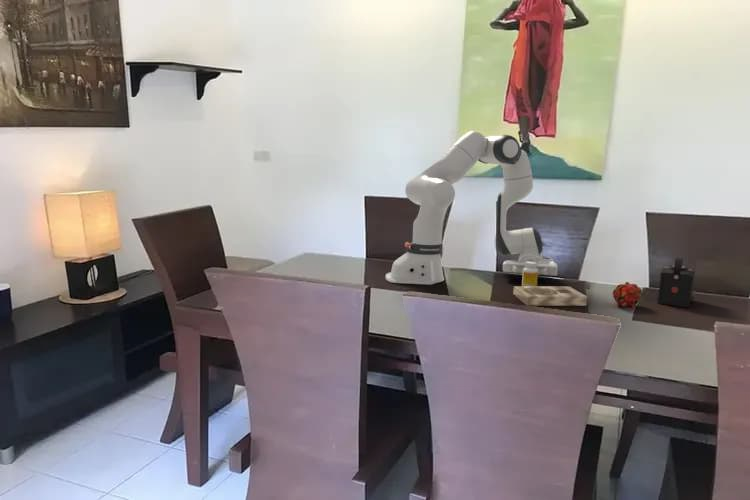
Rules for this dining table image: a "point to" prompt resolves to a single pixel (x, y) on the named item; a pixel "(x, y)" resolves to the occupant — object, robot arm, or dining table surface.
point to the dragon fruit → (627, 295)
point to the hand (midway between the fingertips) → (529, 271)
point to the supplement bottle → (530, 274)
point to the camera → (676, 285)
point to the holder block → (550, 295)
